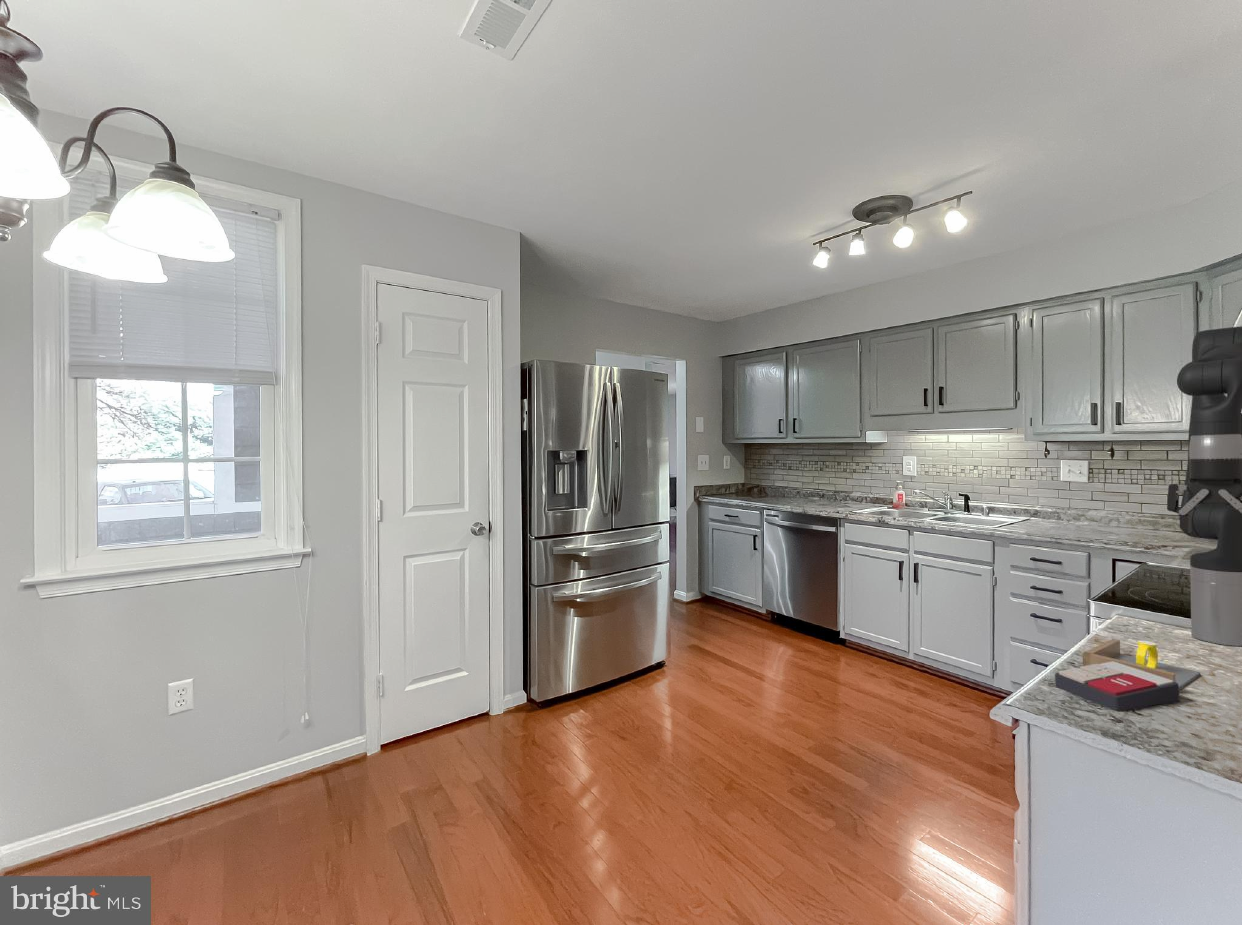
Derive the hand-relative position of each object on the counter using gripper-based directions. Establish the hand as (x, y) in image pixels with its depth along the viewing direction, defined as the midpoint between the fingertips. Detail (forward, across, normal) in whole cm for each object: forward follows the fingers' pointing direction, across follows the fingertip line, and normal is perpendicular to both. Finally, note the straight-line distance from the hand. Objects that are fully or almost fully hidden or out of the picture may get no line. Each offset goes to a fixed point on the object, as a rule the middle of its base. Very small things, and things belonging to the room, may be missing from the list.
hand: (1217, 534), depth 110 cm
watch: (+28, -7, -15) cm, 32 cm away
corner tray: (+28, -8, -15) cm, 33 cm away
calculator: (+29, -7, -32) cm, 43 cm away
